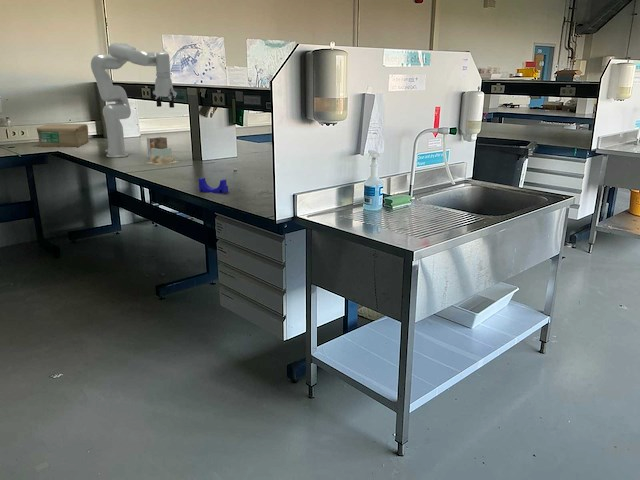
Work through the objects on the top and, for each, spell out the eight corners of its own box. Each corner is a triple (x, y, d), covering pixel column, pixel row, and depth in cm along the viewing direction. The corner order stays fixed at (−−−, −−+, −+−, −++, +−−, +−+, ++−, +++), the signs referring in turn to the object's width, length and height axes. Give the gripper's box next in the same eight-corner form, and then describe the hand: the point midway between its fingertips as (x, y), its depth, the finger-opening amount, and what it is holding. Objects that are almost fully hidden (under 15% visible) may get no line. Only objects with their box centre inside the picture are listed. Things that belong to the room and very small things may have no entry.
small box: (151, 160, 316) (149, 138, 312) (148, 158, 321) (146, 137, 317) (164, 159, 320) (162, 137, 316) (161, 157, 325) (159, 136, 321)
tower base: (150, 162, 304) (150, 155, 303) (161, 160, 312) (161, 153, 310) (162, 163, 300) (162, 156, 299) (173, 161, 308) (173, 154, 307)
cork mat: (144, 163, 303) (144, 162, 303) (161, 160, 315) (161, 159, 315) (163, 166, 297) (163, 164, 297) (179, 162, 309) (179, 161, 309)
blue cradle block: (228, 192, 237) (227, 178, 235) (223, 194, 233) (223, 180, 231) (204, 190, 240) (203, 177, 238) (199, 192, 236) (198, 178, 234)
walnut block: (154, 148, 302) (153, 137, 301) (160, 147, 307) (159, 137, 305) (161, 149, 300) (160, 138, 298) (167, 148, 305) (166, 137, 303)
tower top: (151, 155, 303) (150, 148, 302) (161, 153, 310) (160, 147, 309) (162, 156, 300) (161, 149, 298) (171, 154, 306) (171, 148, 305)
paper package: (37, 147, 359) (34, 126, 355) (50, 142, 383) (48, 123, 379) (79, 147, 363) (77, 126, 359) (89, 142, 387) (87, 123, 383)
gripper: (147, 75, 298) (149, 106, 304) (170, 76, 291) (172, 108, 296) (157, 75, 305) (159, 105, 310) (179, 76, 297) (181, 107, 302)
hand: (165, 107), depth 303 cm, fingers open, 9 cm apart
